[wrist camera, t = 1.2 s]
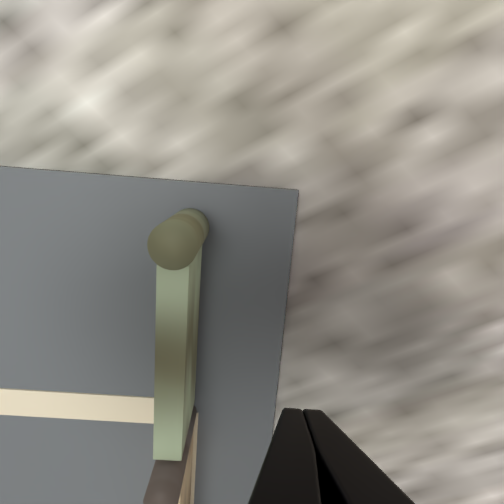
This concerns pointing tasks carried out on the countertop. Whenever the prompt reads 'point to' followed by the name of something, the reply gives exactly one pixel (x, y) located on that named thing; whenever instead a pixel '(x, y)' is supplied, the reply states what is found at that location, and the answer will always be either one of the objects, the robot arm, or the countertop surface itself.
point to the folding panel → (176, 326)
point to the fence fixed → (172, 475)
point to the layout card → (132, 334)
